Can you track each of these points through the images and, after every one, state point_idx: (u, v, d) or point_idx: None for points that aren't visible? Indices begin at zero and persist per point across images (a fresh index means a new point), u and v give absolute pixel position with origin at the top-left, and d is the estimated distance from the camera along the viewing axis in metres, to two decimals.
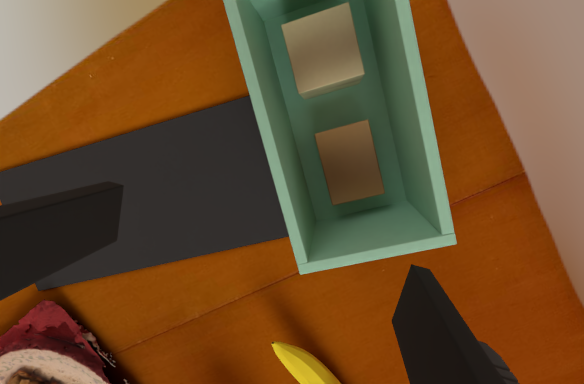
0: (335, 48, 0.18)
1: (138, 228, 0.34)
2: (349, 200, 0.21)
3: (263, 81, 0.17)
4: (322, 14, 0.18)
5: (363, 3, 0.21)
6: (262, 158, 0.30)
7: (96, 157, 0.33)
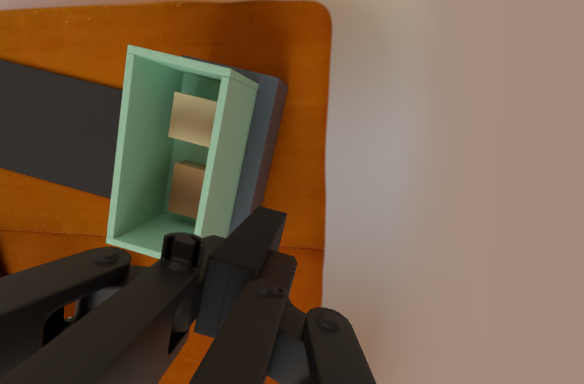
0: (199, 123, 0.28)
1: (52, 150, 0.42)
2: (178, 213, 0.31)
3: (137, 124, 0.26)
4: (200, 100, 0.27)
5: None
6: None
7: (43, 82, 0.40)
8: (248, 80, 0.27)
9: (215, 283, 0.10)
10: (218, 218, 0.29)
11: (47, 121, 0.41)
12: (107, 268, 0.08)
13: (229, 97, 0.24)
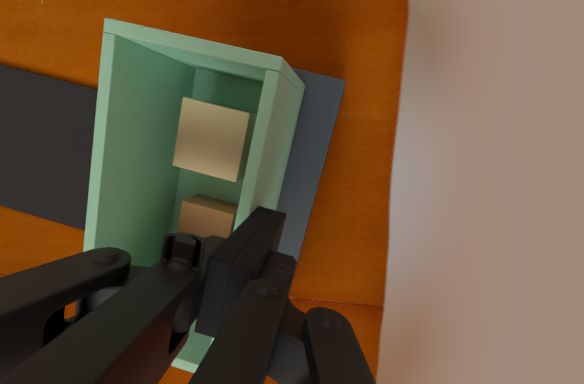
0: (220, 146, 0.18)
1: (25, 171, 0.32)
2: None
3: (123, 148, 0.16)
4: (222, 110, 0.18)
5: None
6: None
7: (12, 83, 0.30)
8: (297, 78, 0.17)
9: (216, 283, 0.10)
10: None
11: (18, 134, 0.31)
12: (108, 268, 0.08)
13: (276, 106, 0.14)
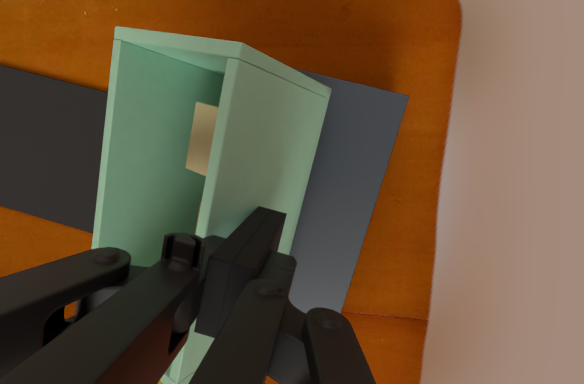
0: None
1: (63, 183, 0.32)
2: None
3: (134, 146, 0.17)
4: None
5: None
6: None
7: (53, 94, 0.30)
8: (301, 76, 0.16)
9: (215, 283, 0.10)
10: None
11: (57, 145, 0.31)
12: (107, 268, 0.08)
13: (244, 99, 0.13)
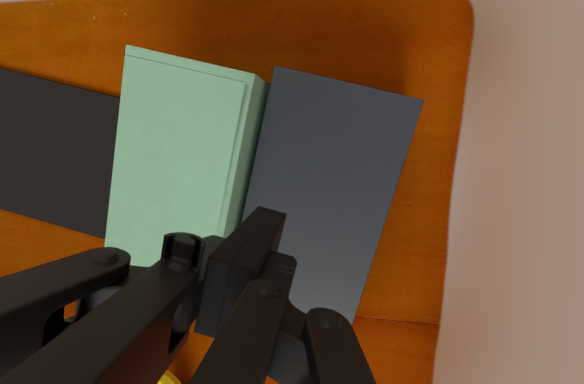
0: None
1: (72, 187, 0.31)
2: None
3: None
4: None
5: None
6: None
7: (62, 99, 0.30)
8: (196, 63, 0.20)
9: (216, 283, 0.10)
10: (155, 243, 0.22)
11: (66, 150, 0.31)
12: (107, 268, 0.08)
13: (133, 78, 0.20)
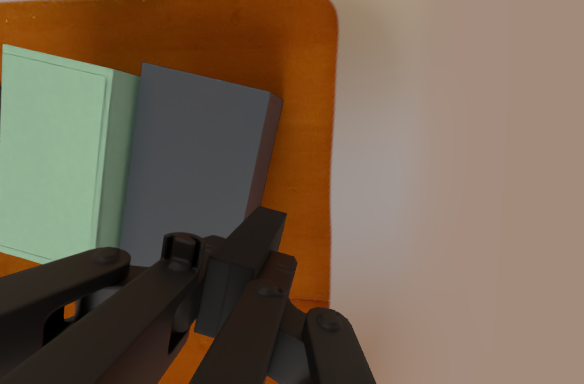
0: None
1: None
2: None
3: None
4: None
5: None
6: None
7: None
8: (63, 60, 0.22)
9: (215, 283, 0.10)
10: (40, 223, 0.25)
11: None
12: (107, 268, 0.08)
13: (11, 74, 0.23)
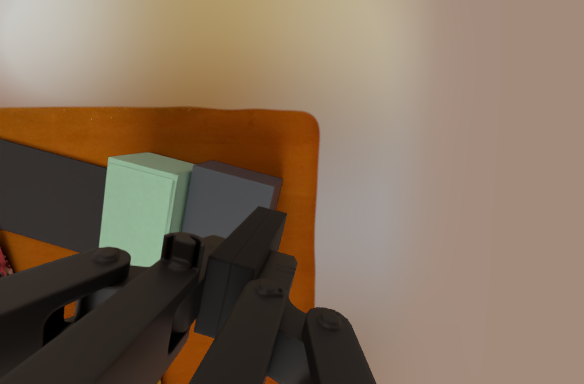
0: None
1: (77, 224, 0.48)
2: None
3: None
4: None
5: None
6: None
7: (70, 168, 0.46)
8: (146, 168, 0.36)
9: (215, 283, 0.10)
10: None
11: (73, 200, 0.47)
12: (107, 268, 0.08)
13: (112, 175, 0.37)
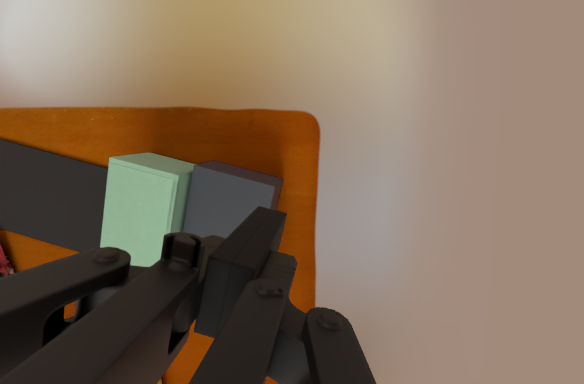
0: None
1: (78, 224, 0.48)
2: None
3: None
4: None
5: None
6: None
7: (71, 168, 0.46)
8: (147, 168, 0.36)
9: (215, 283, 0.10)
10: None
11: (74, 200, 0.47)
12: (107, 268, 0.08)
13: (113, 175, 0.37)
